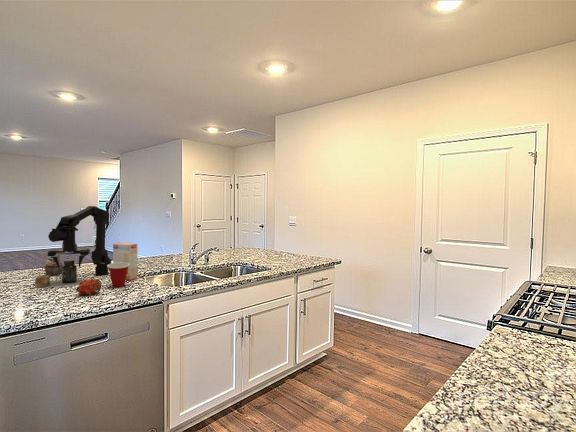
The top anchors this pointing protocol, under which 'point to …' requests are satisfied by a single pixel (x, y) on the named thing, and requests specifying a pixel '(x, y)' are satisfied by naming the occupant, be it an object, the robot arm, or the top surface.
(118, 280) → the plastic cup
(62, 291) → the top surface
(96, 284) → the dragon fruit
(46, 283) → the walnut block
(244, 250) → the top surface
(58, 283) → the gray board
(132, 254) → the cracker box
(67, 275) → the supplement bottle
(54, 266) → the cupcake
